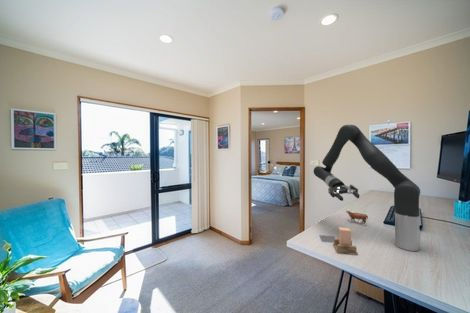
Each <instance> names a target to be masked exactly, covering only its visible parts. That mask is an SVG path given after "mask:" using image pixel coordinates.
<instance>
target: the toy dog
mask: <svg viewBox="0 0 470 313" xmlns="http://www.w3.org/2000/svg"><path fill="white" fill-rule="evenodd" d="M345 213H347V215H348V217H350V221H349V223H352V222H356V221H355V220H358V221H360V220H361V222H360V224H361V225H362V226H366V223H367V220H368V219H369V216H368V215H367V214H366V213H361V212H356V211H353V210H352V209H349V208H347V209H346V211H345Z"/></svg>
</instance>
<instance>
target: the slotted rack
mask: <svg viewBox="0 0 470 313" xmlns="http://www.w3.org/2000/svg"><path fill="white" fill-rule="evenodd" d="M332 245H333V248H334V250H335V253H337V254H340V255H348V256H349V255H350V256H359V253H358V252H357V246H356V245H353V240H352V239H351V245H340V244H339V238H334V243H332Z"/></svg>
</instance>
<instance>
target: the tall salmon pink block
mask: <svg viewBox="0 0 470 313" xmlns="http://www.w3.org/2000/svg"><path fill="white" fill-rule="evenodd" d="M338 239H339V244H340V245H351V240H352V230H351V229H350V228H349V227H342V226H339V227H338Z"/></svg>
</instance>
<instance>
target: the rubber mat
mask: <svg viewBox="0 0 470 313" xmlns="http://www.w3.org/2000/svg"><path fill="white" fill-rule="evenodd" d="M334 238H335V236H333V235H321V234H319V239H320V241H321V242H322V243H332V244H334ZM335 239H336V238H335Z"/></svg>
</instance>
